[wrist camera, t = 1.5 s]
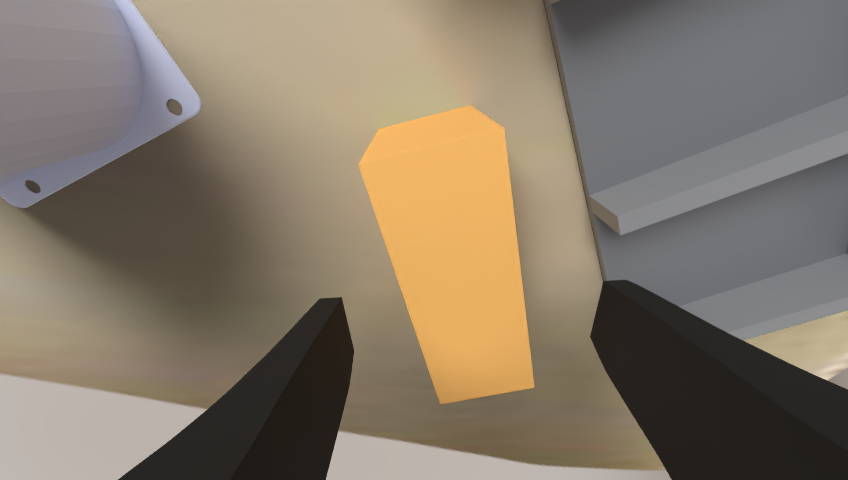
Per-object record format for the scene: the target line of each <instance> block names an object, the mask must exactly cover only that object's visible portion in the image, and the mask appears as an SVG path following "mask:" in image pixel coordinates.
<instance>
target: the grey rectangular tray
mask: <svg viewBox="0 0 848 480" xmlns="http://www.w3.org/2000/svg"><path fill="white" fill-rule="evenodd" d="M544 3H545V8H546V13H547V17H548V22H549V27H550V31H551V36H552V41H553V46H554V50H555V55H556V60H557V64H558V69H559V74H560V78H561V83H562V88H563V93H564V97H565V102H566V107H567V111H568V116H569V121H570V125H571V130H572V135H573V140H574V144H575V149H576V154H577V158H578V163H579V168H580V172H581V177H582V182H583V187H584V191H585V196H586V201H587V205H588V210H589V215H590V219H591V224H592V229H593V233H594V238H595V243H596V248H597V252H598V257H599V262H600V266H601V271H602V276H603V280H604V281H611V280H628V281H631V282H633V283H635V284H637V285H639V286H641V287H643V288H645V289H647V290H649V291H651V292H653V293H654V294H656V295H658V296H660V297H662V298H664V299H666V300H668V301H669V302H671V303H673V304H675V305H677V306H679V307H680V308H682V309H684V310H686V311H688V312H690V313H691V314H693V315H695V316H697V317H699V318H701V319H703V320H705V321H706V322H708V323H710V324H712V325H714V326H716V327H718V328H720V329H721V330H723V331H725V332H727V333H729V334H731V335H733V336H735V337H737V338H739V339H741V340H746V339H750V338H753V337H757V336H760V335H764V334H767V333H771V332H774V331H777V330H781V329H784V328H788V327H791V326H795V325H798V324H802V323H805V322H809V321H812V320H816V319H819V318H823V317H826V316H830V315H833V314H837V313H840V312H843V311H847V310H848V0H544Z"/></svg>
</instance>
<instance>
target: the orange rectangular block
mask: <svg viewBox="0 0 848 480" xmlns="http://www.w3.org/2000/svg"><path fill="white" fill-rule="evenodd" d="M358 165H359V168H360V171H361V174H362V177H363V180H364V183H365V186H366V189H367V192H368V195H369V197H370V200H371V203H372V206H373V209H374V212H375V215H376V218H377V221H378V224H379V227H380V230H381V233H382V235H383V238H384V241H385V244H386V247H387V250H388V253H389V256H390V259H391V262H392V265H393V268H394V271H395V274H396V276H397V279H398V282H399V285H400V288H401V291H402V294H403V297H404V300H405V303H406V306H407V309H408V312H409V314H410V317H411V320H412V323H413V326H414V329H415V332H416V335H417V338H418V341H419V344H420V347H421V350H422V353H423V355H424V358H425V361H426V364H427V367H428V370H429V373H430V376H431V379H432V382H433V385H434V388H435V391H436V393H437V396H438V399H439V402H440V404H445V403H451V402H457V401H462V400H468V399H474V398H479V397H485V396H490V395H496V394H502V393H507V392H513V391H519V390H524V389H530V388H535V387H534V379H533V370H532V362H531V353H530V345H529V336H528V327H527V319H526V310H525V302H524V293H523V285H522V276H521V268H520V259H519V251H518V242H517V234H516V225H515V217H514V208H513V199H512V191H511V182H510V174H509V165H508V157H507V148H506V140H505V131H504V128H503V127H502V126H500V125H499V124H497V123H496V122H494V121H493V120H492V119H490V118H489V117H487V116H486V115H484V114H483V113H481V112H480V111H478V110H477V109H475V108H474V107H472V106H471V105H470V106H466V107H462V108H458V109H454V110H450V111H446V112H443V113H439V114H435V115H431V116H427V117H423V118H419V119H416V120H412V121H408V122H404V123H400V124H396V125H392V126H388V127H385V128H381V129H379V130H378V131H377V133H376V135H375V136H374V138H373V140H372V142H371V143H370V145H369V147H368V149H367V150H366V152H365V154H364V156H363V157H362V159H361V161H360V163H359V164H358Z"/></svg>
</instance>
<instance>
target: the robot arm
mask: <svg viewBox="0 0 848 480" xmlns="http://www.w3.org/2000/svg"><path fill="white" fill-rule="evenodd" d="M170 99H174V100H176V101H178V102H179V103H180V104H181V106H182V113H181V114H180V115H174V114H172V113H171V112H170V111H169V109H168V107H167V102H168V101H169V100H170ZM201 108H202V104H201V100H200V98H199V96H198V94H197V93H196V91H195V90H194V88H193V87H192V86H191V84H190V83H189V81H188V80H187V79H186V77H185V76H184V74H183V73H182V72H181V70H180V69H179V67H178V66H177V65H176V63H175V62H174V60H173V59H172V58H171V56H170V55H169V53H168V52H167V51H166V49H165V48H164V46H163V45H162V44H161V42H160V41H159V39H158V38H157V37H156V35H155V34H154V32H153V31H152V30H151V28H150V27H149V25H148V24H147V23H146V21H145V20H144V18H143V17H142V15H141V14H140V13H139V11H138V10H137V8H136V7H135V6H134V4H133V3H132V1H131V0H0V196H1V197H2V198H3V199H5V200H6V201H7V202H8V203H10V204H11V205H13V206H16V207H18V208H27V207H29V206H31V205H33V204H35V203H37V202H38V201H40V200H42V199H44V198H46V197H47V196H49V195H51V194H53V193H55V192H57V191H58V190H60V189H62V188H64V187H66V186H68V185H69V184H71V183H73V182H75V181H77V180H79V179H80V178H82V177H84V176H86V175H88V174H90V173H91V172H93V171H95V170H97V169H99V168H101V167H102V166H104V165H106V164H108V163H110V162H112V161H113V160H115V159H117V158H119V157H121V156H123V155H124V154H126V153H128V152H130V151H132V150H134V149H135V148H137V147H139V146H141V145H143V144H145V143H146V142H148V141H150V140H152V139H154V138H156V137H157V136H159V135H161V134H163V133H165V132H167V131H168V130H170V129H172V128H174V127H176V126H177V125H179V124H181V123H183V122H185V121H187V120H188V119H190V118H192V117H194V116H196V115H197V114H198V113H199V112H200V111H201ZM27 180H31V181H34V182H35V183H37V184H38V185H39V187H40V190H41V191H40V192H39V193H35V192H33V191H31V190H30V189H29V188H28V187H27V186H26V181H27ZM590 337H591V340H592V342H593V344H594V346H595V349H596V351H597V353H598V356H599V358H600V360H601V362H602V364H603V366H604V368H605V370H606V372H607V374H608V376H609V377H610V379H611V381H612V382H613V384H614V386H615V387H616V389H617V390H618V392H619V394H620V395H621V397H622V399H623V400H624V402H625V403H626V405H627V407H628V408H629V410H630V411H631V413H632V415H633V416H634V418H635V420H636V421H637V423H638V424H639V426H640V428H641V429H642V431H643V432H644V434H645V436H646V437H647V439H648V440H649V442H650V444H651V445H652V447H653V448H654V450H655V452H656V453H657V455H658V456H659V458H660V460H661V462H662V463H663V465H664V467H665V469H666V470H667V472H668V474H669V476H670V477H671V479H672V480H848V390H847V389H845V388H843V387H840V386H838V385H836V384H834V383H831V382H829V381H827V380H825V379H822V378H820V377H818V376H815V375H813V374H811V373H809V372H807V371H805V370H802V369H800V368H798V367H796V366H794V365H792V364H789V363H787V362H785V361H783V360H781V359H779V358H777V357H775V356H773V355H771V354H769V353H767V352H765V351H763V350H761V349H759V348H757V347H755V346H753V345H751V344H749V343H747V342H745V341H743V340H741V339H739V338H737V337H735V336H733V335H731V334H729V333H727V332H725V331H723V330H721V329H720V328H718V327H716V326H714V325H712V324H710V323H708V322H706V321H705V320H703V319H701V318H699V317H697V316H695V315H693V314H691V313H690V312H688V311H686V310H684V309H682V308H680V307H679V306H677V305H675V304H673V303H671V302H669V301H668V300H666V299H664V298H662V297H660V296H658V295H656V294H654V293H653V292H651V291H649V290H647V289H645V288H643V287H641V286H639V285H637V284H635V283H633V282H631V281H628V280H611V281H604V282H603V286H602V290H601V294H600V298H599V303H598V307H597V311H596V315H595V319H594V323H593V327H592V331H591V336H590ZM353 355H354V349H353V344H352V340H351V336H350V331H349V327H348V323H347V318H346V314H345V310H344V305H343V301H342V297H339V298H323V299H319V300H318V301H317V302H316V303H315V304H314V305H313V306H312V307H311V308H310V310H309V311H308V312H307V313H306V314H305V315H304V316H303V317H302V318H301V319H300V320H299V321H298V322H297V323H296V324H295V326H294V327H293V328H292V329H291V330H290V331H289V332H288V333H287V334H286V335H285V336H284V337H283V338H282V339H281V340H280V341H279V342H278V343H277V344H276V345H275V346H274V347H273V348H272V350H271V351H270V352H269V353H268V354H267V355H266V356H265V357H264V358H263V359H262V360H261V361H260V362H258V363H257V364H256V365H255V366H254V367H253V368H252V369H251V370H250V371H249V372H248V373H247V374H246V375H245V376H244V377H243V378H242V379H241V380H240V381H239V382H237V383H236V384H235V385H234V386H233V387H232V388H231V389H230V390H229V391H228V392H227V393H226V394H225V395H223V396H222V397H221V398H220V399H219V400H218V401H217V402H216V403H214V404H213V405H212V406H211V407H210V408H209V409H207V410H206V411H205V412H204V413H203V414H202V415H200V416H199V417H198V418H197V419H196V420H194V421H193V422H192V423H191V424H189V425H188V426H187V427H186V428H185V429H183V430H182V431H181V432H180V433H179V434H177V435H176V436H175V437H174V438H172V439H171V440H170V441H169V442H167V443H166V444H165V445H163V446H162V447H161V448H159V449H158V450H157V451H155V452H154V453H153V454H151V455H150V456H149V457H148V458H146V459H145V460H143V461H142V462H141V463H139V464H138V465H137V466H135V467H134V468H133V469H131V470H130V471H129V472H128V473H126V474H125V475H124V476H122V477H121V478H120V479H118V480H326V476H327V472H328V468H329V464H330V461H331V456H332V452H333V449H334V445H335V441H336V437H337V433H338V429H339V425H340V422H341V418H342V414H343V410H344V406H345V402H346V398H347V394H348V390H349V385H350V378H351V371H352V363H353Z"/></svg>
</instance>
